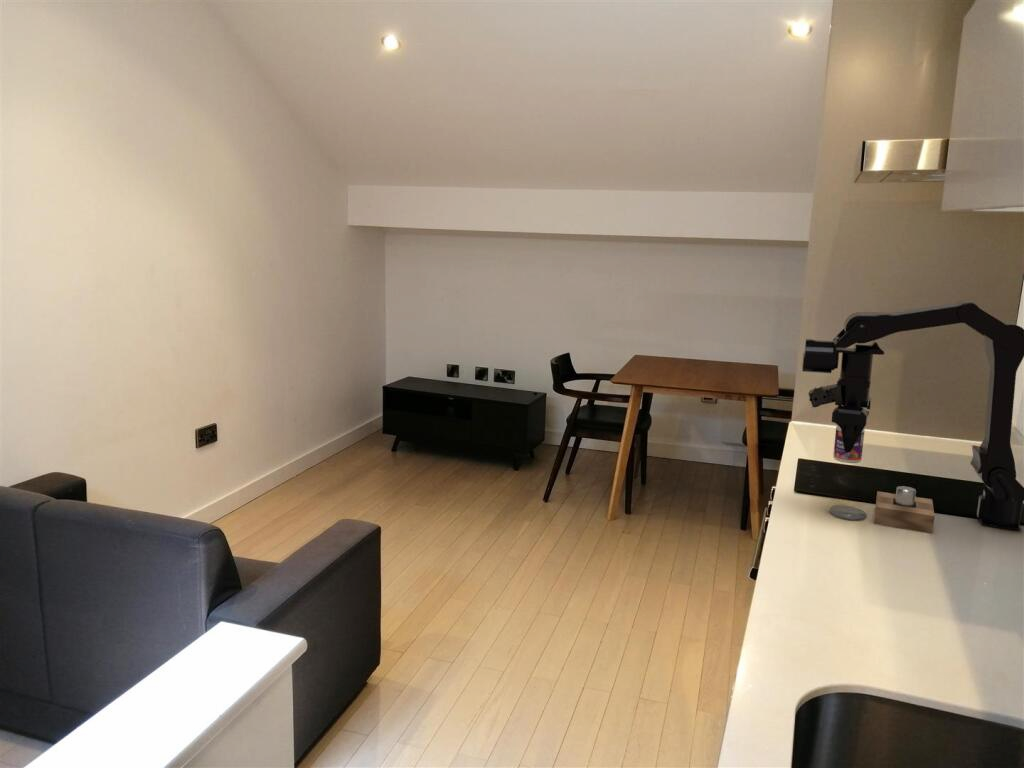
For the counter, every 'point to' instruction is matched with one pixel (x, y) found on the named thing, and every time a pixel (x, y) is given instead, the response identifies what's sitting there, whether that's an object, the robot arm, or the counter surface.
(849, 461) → the pill bottle
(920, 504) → the socket block
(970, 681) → the counter surface
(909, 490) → the plug
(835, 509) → the coaster
